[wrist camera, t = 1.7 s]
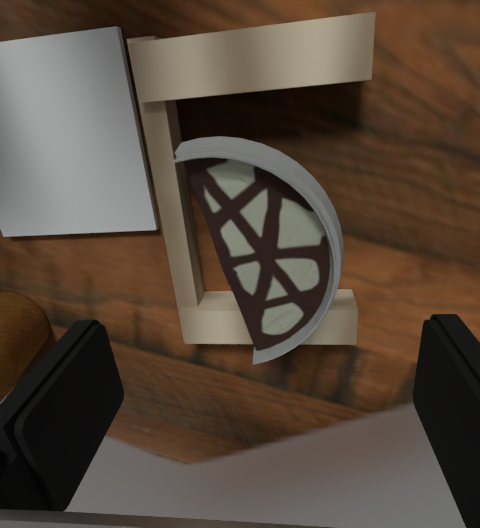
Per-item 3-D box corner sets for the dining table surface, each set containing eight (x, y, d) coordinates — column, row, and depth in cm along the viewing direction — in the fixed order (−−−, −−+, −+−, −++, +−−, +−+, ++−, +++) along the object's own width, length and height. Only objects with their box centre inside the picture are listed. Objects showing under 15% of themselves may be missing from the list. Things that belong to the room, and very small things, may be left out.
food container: (344, 266, 27) (371, 352, 18) (266, 284, 29) (255, 372, 20) (303, 95, 22) (313, 97, 14) (213, 128, 24) (167, 148, 15)
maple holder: (364, 16, 20) (375, 4, 18) (349, 324, 29) (356, 348, 26) (142, 44, 22) (122, 37, 20) (191, 324, 31) (182, 346, 28)
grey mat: (120, 27, 22) (116, 26, 22) (159, 227, 28) (156, 230, 27) (-61, 52, 24) (-69, 51, 24) (8, 234, 29) (3, 236, 29)
